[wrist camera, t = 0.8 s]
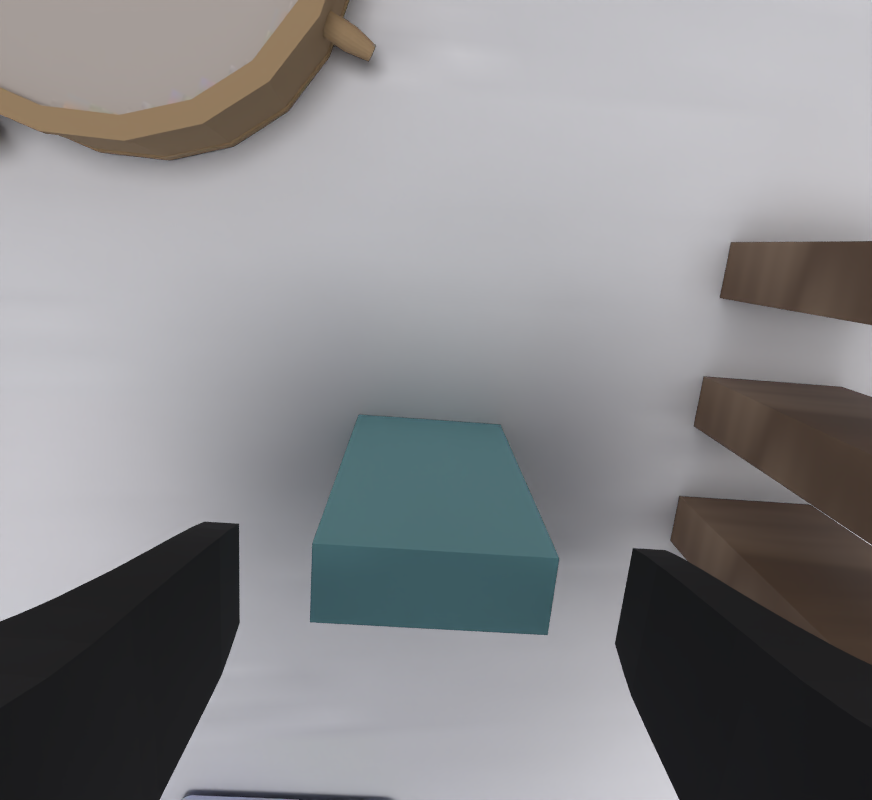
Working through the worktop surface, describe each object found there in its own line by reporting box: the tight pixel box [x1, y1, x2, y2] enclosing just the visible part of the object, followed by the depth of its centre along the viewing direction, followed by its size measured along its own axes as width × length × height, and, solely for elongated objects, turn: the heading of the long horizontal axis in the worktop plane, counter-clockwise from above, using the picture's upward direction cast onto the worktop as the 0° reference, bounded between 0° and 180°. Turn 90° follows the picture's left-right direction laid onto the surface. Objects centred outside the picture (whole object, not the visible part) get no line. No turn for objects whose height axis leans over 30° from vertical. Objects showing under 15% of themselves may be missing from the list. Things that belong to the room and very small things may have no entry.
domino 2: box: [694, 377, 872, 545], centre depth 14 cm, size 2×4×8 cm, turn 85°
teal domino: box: [310, 415, 559, 635], centre depth 14 cm, size 2×4×8 cm, turn 86°
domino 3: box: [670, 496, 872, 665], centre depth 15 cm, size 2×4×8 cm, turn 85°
